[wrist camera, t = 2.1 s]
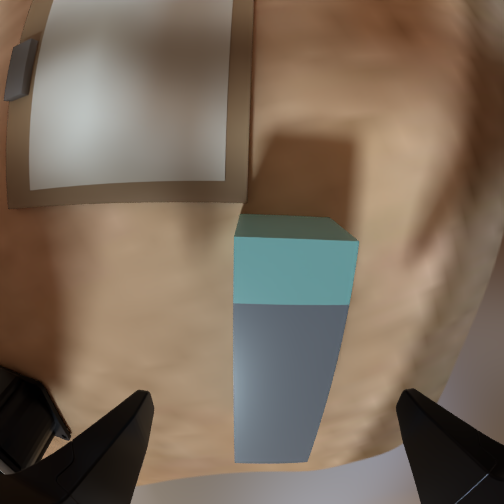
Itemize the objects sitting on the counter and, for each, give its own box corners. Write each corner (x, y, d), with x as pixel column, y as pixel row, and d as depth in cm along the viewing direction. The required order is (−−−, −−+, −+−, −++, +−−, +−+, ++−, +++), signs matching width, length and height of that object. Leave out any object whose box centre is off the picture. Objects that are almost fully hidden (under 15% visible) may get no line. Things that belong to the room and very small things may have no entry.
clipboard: (247, 201, 11) (246, 205, 10) (14, 207, 11) (0, 211, 10) (257, -70, 7) (257, -82, 6) (46, -22, 7) (37, -28, 6)
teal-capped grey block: (299, 413, 15) (307, 461, 11) (237, 413, 15) (234, 462, 11) (329, 217, 11) (359, 241, 8) (240, 213, 11) (234, 236, 8)
